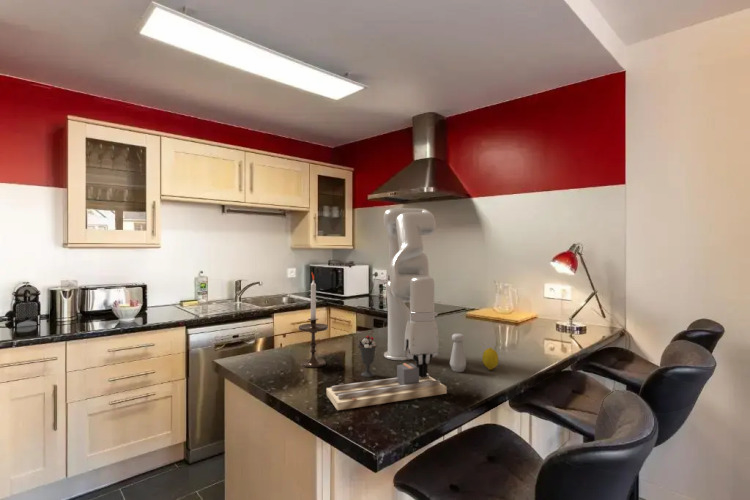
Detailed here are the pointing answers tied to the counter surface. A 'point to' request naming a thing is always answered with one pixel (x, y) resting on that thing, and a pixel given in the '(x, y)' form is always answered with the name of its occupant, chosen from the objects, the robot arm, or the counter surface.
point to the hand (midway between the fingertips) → (422, 375)
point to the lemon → (490, 358)
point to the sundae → (367, 354)
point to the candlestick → (313, 331)
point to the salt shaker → (458, 354)
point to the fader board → (382, 392)
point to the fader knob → (407, 374)
